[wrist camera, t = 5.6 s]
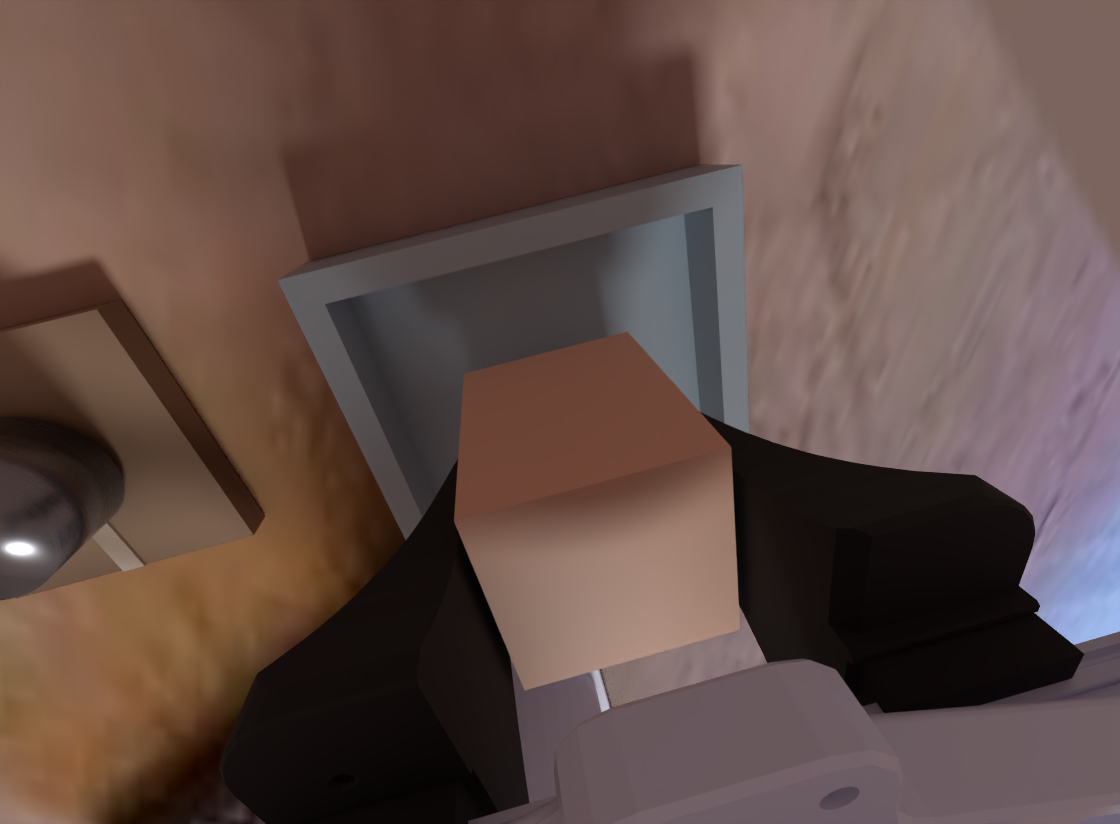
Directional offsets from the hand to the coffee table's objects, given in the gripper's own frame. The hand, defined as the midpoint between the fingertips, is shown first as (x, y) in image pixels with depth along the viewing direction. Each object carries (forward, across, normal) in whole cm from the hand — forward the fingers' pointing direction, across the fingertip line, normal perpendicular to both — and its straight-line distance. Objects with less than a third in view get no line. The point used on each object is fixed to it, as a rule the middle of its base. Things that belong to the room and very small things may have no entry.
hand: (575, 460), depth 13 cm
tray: (+5, 0, 0) cm, 5 cm away
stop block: (+2, 0, 0) cm, 2 cm away
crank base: (+5, +15, -2) cm, 16 cm away
